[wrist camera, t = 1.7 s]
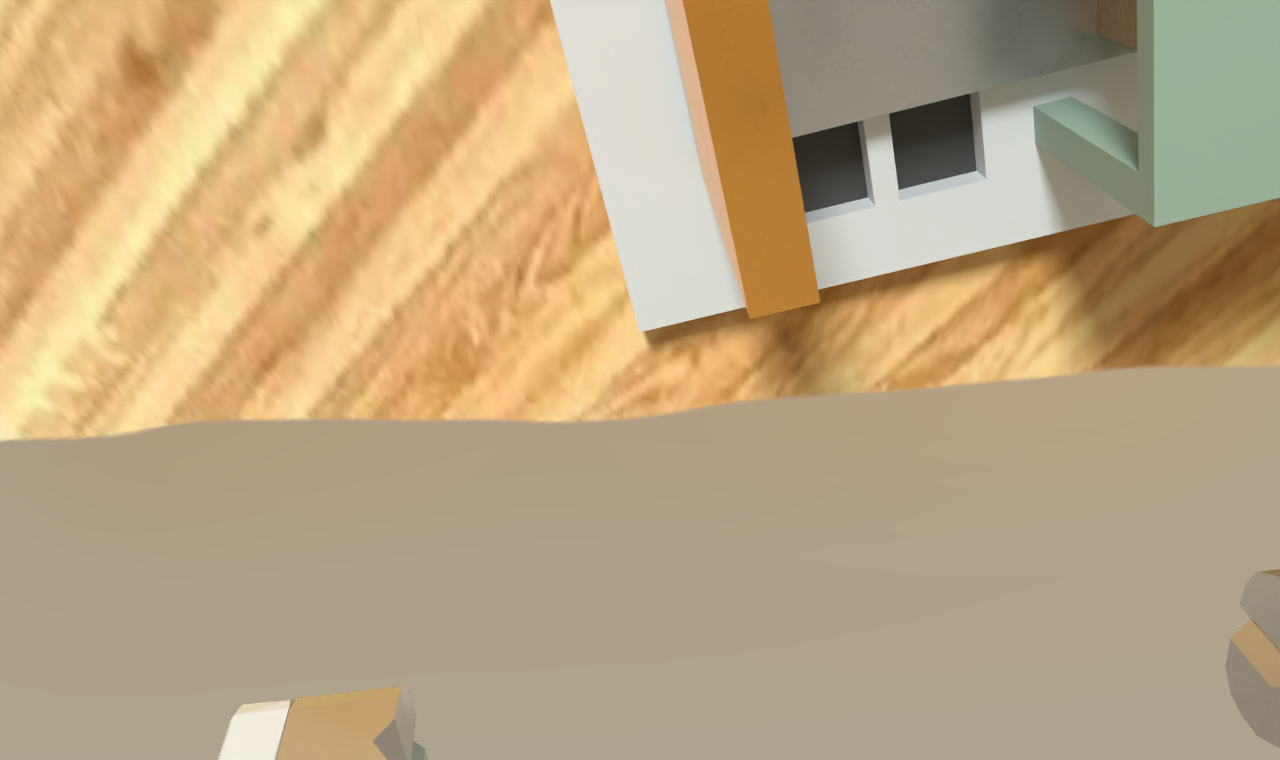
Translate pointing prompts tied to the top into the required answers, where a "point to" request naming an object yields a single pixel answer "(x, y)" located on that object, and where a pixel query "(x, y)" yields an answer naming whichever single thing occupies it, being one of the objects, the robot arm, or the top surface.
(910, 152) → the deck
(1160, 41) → the tunnel
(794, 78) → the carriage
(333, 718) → the robot arm
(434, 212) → the top surface
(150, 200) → the top surface
